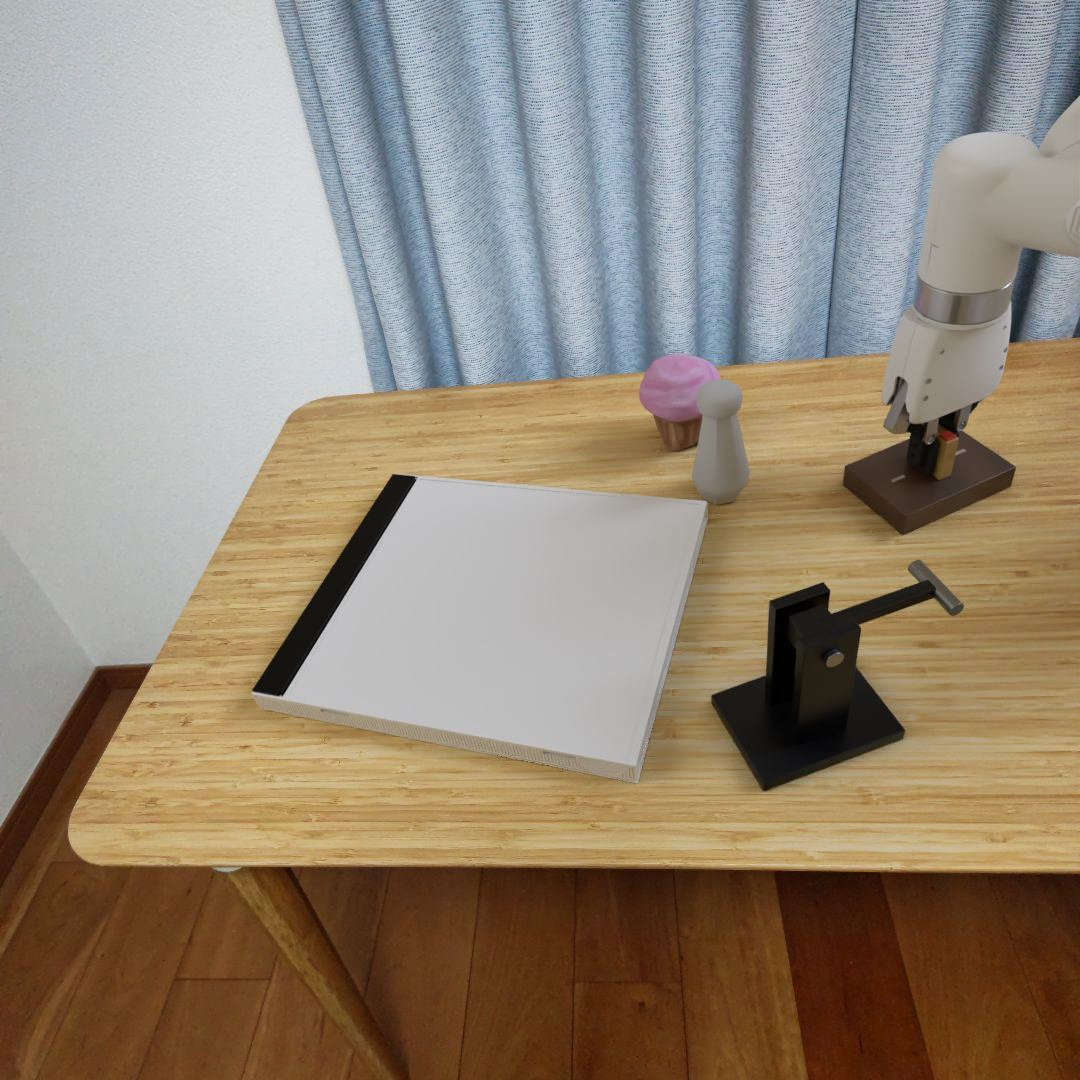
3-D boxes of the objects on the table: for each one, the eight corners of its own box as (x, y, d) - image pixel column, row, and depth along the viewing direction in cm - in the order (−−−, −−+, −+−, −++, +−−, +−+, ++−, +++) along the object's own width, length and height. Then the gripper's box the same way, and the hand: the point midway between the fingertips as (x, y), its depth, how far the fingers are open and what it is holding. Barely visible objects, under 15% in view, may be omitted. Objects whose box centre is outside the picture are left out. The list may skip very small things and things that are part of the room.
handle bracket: (840, 656, 76) (854, 548, 68) (903, 739, 70) (928, 630, 61) (711, 703, 75) (708, 598, 66) (763, 792, 68) (768, 688, 59)
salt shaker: (757, 481, 94) (760, 376, 85) (737, 515, 91) (737, 410, 82) (705, 469, 97) (702, 366, 88) (683, 502, 93) (678, 398, 85)
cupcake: (665, 471, 97) (660, 394, 91) (630, 431, 104) (623, 356, 97) (737, 444, 99) (738, 366, 92) (698, 406, 105) (696, 331, 98)
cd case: (249, 692, 79) (393, 471, 100) (259, 708, 81) (399, 488, 102) (635, 766, 68) (707, 501, 89) (637, 783, 70) (707, 519, 91)
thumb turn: (907, 456, 90) (913, 417, 86) (918, 451, 90) (925, 412, 87) (939, 480, 86) (947, 441, 83) (951, 475, 87) (959, 436, 84)
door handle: (919, 574, 69) (923, 551, 67) (961, 618, 65) (967, 596, 63) (777, 624, 67) (778, 602, 66) (812, 672, 63) (814, 650, 62)
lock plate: (945, 440, 94) (949, 420, 93) (1011, 486, 88) (1017, 465, 86) (842, 484, 92) (844, 464, 90) (902, 535, 85) (906, 514, 84)
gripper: (1002, 249, 80) (965, 417, 92) (855, 304, 77) (837, 471, 89) (1071, 280, 75) (1022, 455, 87) (916, 341, 71) (888, 513, 84)
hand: (929, 462), depth 88 cm, fingers closed
